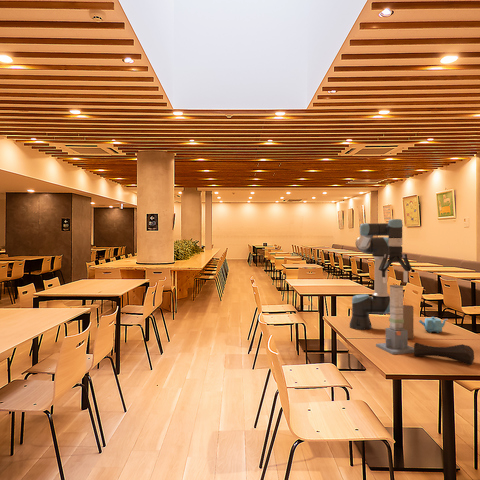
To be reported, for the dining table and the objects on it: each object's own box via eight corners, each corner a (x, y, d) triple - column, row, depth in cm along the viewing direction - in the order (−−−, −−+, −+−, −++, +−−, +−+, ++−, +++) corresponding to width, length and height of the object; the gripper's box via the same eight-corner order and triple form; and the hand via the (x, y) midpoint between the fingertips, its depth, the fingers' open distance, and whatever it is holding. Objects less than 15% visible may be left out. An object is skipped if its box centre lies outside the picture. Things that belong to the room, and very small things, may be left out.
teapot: (420, 333, 250) (420, 318, 250) (417, 328, 263) (417, 314, 263) (450, 335, 245) (450, 319, 245) (445, 330, 258) (445, 315, 258)
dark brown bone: (475, 367, 190) (416, 364, 204) (473, 346, 194) (414, 345, 209) (475, 362, 182) (412, 360, 196) (472, 341, 186) (411, 340, 201)
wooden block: (413, 336, 242) (413, 305, 242) (413, 339, 233) (413, 308, 233) (396, 334, 247) (396, 304, 247) (396, 338, 238) (396, 306, 238)
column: (388, 331, 216) (388, 285, 216) (397, 330, 217) (397, 284, 217) (395, 333, 210) (395, 286, 210) (404, 333, 211) (404, 286, 211)
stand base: (376, 346, 220) (376, 326, 220) (399, 344, 223) (399, 325, 223) (392, 354, 204) (392, 333, 204) (418, 352, 208) (418, 331, 208)
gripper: (380, 246, 208) (380, 284, 208) (418, 245, 214) (418, 282, 214) (372, 245, 215) (372, 282, 216) (409, 245, 221) (409, 281, 221)
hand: (395, 282), depth 215 cm, fingers open, 13 cm apart
